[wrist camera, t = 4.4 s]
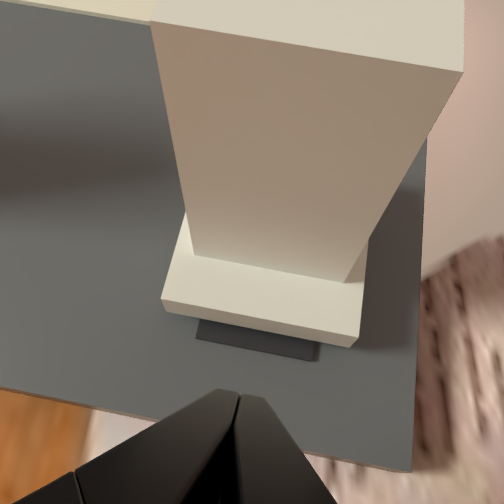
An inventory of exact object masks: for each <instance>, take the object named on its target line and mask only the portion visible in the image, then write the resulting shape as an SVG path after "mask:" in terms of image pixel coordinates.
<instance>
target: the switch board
mask: <svg viewBox="0 0 504 504" xmlns="http://www.w3.org/2000/svg"><path fill="white" fill-rule="evenodd" d="M156 2H157V0H0V390H5V391H10V392H14V393H19V394H24V395H29V396H34V397H38V398H43V399H48V400H53V401H57V402H62V403H67V404H72V405H76V406H81V407H86V408H91V409H95V410H100V411H105V412H110V413H115V414H119V415H124V416H129V417H134V418H138V419H143V420H148V421H153V422H159V421H161V420H162V419H164V418H166V417H167V416H169V415H171V414H173V413H174V412H176V411H178V410H180V409H181V408H183V407H185V406H187V405H188V404H190V403H192V402H193V401H195V400H197V399H199V398H200V397H202V396H204V395H206V394H207V393H209V392H211V391H213V390H214V389H217V388H222V389H226V390H231V391H236V392H238V393H239V394H240V396H241V395H242V394H244V393H246V394H251V395H256V396H261V397H264V398H265V399H266V400H267V401H268V403H269V404H270V406H271V407H272V409H273V410H274V412H275V413H276V415H277V416H278V418H279V419H280V420H281V422H282V423H283V425H284V426H285V428H286V429H287V431H288V432H289V434H290V435H291V437H292V438H293V439H294V441H295V442H296V444H297V445H298V447H299V448H300V450H301V451H302V453H305V454H310V455H315V456H319V457H324V458H329V459H334V460H339V461H343V462H348V463H353V464H358V465H362V466H367V467H372V468H377V469H381V470H386V471H391V472H411V468H412V447H413V426H414V405H415V384H416V363H417V342H418V320H419V299H420V278H421V257H422V236H423V214H424V194H425V193H424V192H425V172H426V150H427V137H426V139H425V141H424V143H423V144H422V146H421V148H420V150H419V151H418V153H417V155H416V157H415V158H414V160H413V162H412V164H411V165H410V167H409V169H408V171H407V172H406V174H405V176H404V178H403V179H402V181H401V183H400V185H399V186H398V188H397V190H396V192H395V193H394V195H393V197H392V199H391V200H390V202H389V204H388V206H387V207H386V209H385V211H384V213H383V214H382V216H381V218H380V220H379V221H378V223H377V225H376V227H375V228H374V230H373V232H372V234H371V235H370V237H369V241H368V251H367V260H366V270H365V280H364V290H363V300H362V310H361V320H360V330H359V338H358V339H357V340H356V341H355V342H354V343H353V344H352V345H351V346H350V348H348V347H343V346H338V345H333V344H328V343H322V342H317V341H312V340H307V339H302V338H297V337H292V336H287V335H282V334H277V333H272V332H267V331H262V330H257V329H251V328H246V327H241V326H236V325H231V324H226V323H221V322H216V321H211V320H206V319H201V318H196V317H191V316H186V315H181V314H175V313H170V312H166V310H165V308H164V306H163V303H162V301H161V299H160V298H161V295H162V291H163V288H164V285H165V281H166V278H167V274H168V271H169V267H170V264H171V260H172V257H173V253H174V250H175V247H176V243H177V240H178V236H179V233H180V229H181V226H182V222H183V219H184V216H185V212H186V210H185V204H184V199H183V194H182V189H181V184H180V178H179V173H178V168H177V163H176V157H175V152H174V147H173V142H172V136H171V131H170V126H169V121H168V116H167V110H166V105H165V100H164V95H163V89H162V84H161V79H160V74H159V69H158V63H157V58H156V53H155V48H154V42H153V37H152V32H151V27H150V21H149V20H150V17H151V15H152V12H153V10H154V7H155V5H156Z"/></svg>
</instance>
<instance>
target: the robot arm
mask: <svg viewBox="0 0 504 504" xmlns="http://www.w3.org/2000/svg"><path fill="white" fill-rule="evenodd" d="M12 504H337V502H336V501H335V499H334V498H333V496H332V495H331V494H330V492H329V491H328V489H327V488H326V486H325V485H324V483H323V482H322V480H321V479H320V477H319V476H318V475H317V473H316V472H315V470H314V469H313V467H312V466H311V464H310V463H309V461H308V460H307V458H306V457H305V456H304V454H303V453H302V451H301V450H300V448H299V447H298V445H297V444H296V442H295V441H294V439H293V438H292V437H291V435H290V434H289V432H288V431H287V429H286V428H285V426H284V425H283V423H282V422H281V420H280V419H279V418H278V416H277V415H276V413H275V412H274V410H273V409H272V407H271V406H270V404H269V403H268V401H267V400H266V399H265V398H264V397H261V396H256V395H251V394H246V393H244V394H242V395H241V396H240V394H239V393H238V392H236V391H231V390H226V389H222V388H217V389H214V390H213V391H211V392H209V393H207V394H206V395H204V396H202V397H200V398H199V399H197V400H195V401H193V402H192V403H190V404H188V405H187V406H185V407H183V408H181V409H180V410H178V411H176V412H174V413H173V414H171V415H169V416H167V417H166V418H164V419H162V420H161V421H159V422H157V423H155V424H154V425H152V426H150V427H148V428H147V429H145V430H143V431H141V432H140V433H138V434H136V435H135V436H133V437H131V438H129V439H128V440H126V441H124V442H122V443H121V444H119V445H117V446H115V447H114V448H112V449H110V450H108V451H107V452H105V453H103V454H102V455H100V456H98V457H96V458H95V459H93V460H91V461H89V462H88V463H86V464H84V465H82V466H81V467H79V468H77V469H76V470H75V471H74V472H68V473H67V474H65V475H63V476H61V477H60V478H58V479H56V480H54V481H53V482H51V483H49V484H47V485H46V486H44V487H42V488H40V489H38V490H36V491H35V492H33V493H31V494H29V495H27V496H25V497H23V498H22V499H20V500H18V501H16V502H14V503H12Z"/></svg>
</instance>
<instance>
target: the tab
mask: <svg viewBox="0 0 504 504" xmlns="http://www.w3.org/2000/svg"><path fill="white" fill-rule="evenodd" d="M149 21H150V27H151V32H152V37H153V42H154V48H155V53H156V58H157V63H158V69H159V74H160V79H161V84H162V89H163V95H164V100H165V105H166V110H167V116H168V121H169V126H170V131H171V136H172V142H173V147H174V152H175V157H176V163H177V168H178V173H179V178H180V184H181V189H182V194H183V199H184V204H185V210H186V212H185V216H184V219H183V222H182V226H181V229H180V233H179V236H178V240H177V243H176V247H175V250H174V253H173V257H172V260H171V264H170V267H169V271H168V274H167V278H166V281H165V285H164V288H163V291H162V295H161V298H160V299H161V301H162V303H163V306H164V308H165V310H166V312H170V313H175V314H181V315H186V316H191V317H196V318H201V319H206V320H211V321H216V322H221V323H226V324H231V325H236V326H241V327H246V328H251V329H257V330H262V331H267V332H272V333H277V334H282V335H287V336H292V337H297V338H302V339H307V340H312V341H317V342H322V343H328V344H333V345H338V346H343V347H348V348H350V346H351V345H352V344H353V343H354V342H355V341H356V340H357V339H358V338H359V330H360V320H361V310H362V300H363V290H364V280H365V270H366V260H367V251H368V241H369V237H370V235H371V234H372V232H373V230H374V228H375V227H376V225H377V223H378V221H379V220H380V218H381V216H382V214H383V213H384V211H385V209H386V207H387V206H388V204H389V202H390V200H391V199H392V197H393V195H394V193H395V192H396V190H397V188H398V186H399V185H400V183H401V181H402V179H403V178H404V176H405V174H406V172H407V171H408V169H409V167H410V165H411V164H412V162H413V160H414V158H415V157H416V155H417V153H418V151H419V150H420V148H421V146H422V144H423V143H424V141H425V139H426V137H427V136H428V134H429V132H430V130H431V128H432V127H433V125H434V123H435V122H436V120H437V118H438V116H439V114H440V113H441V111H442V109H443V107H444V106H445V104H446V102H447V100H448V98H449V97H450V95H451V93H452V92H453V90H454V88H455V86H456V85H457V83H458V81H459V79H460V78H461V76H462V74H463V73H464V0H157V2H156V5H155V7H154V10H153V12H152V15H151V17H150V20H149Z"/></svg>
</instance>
